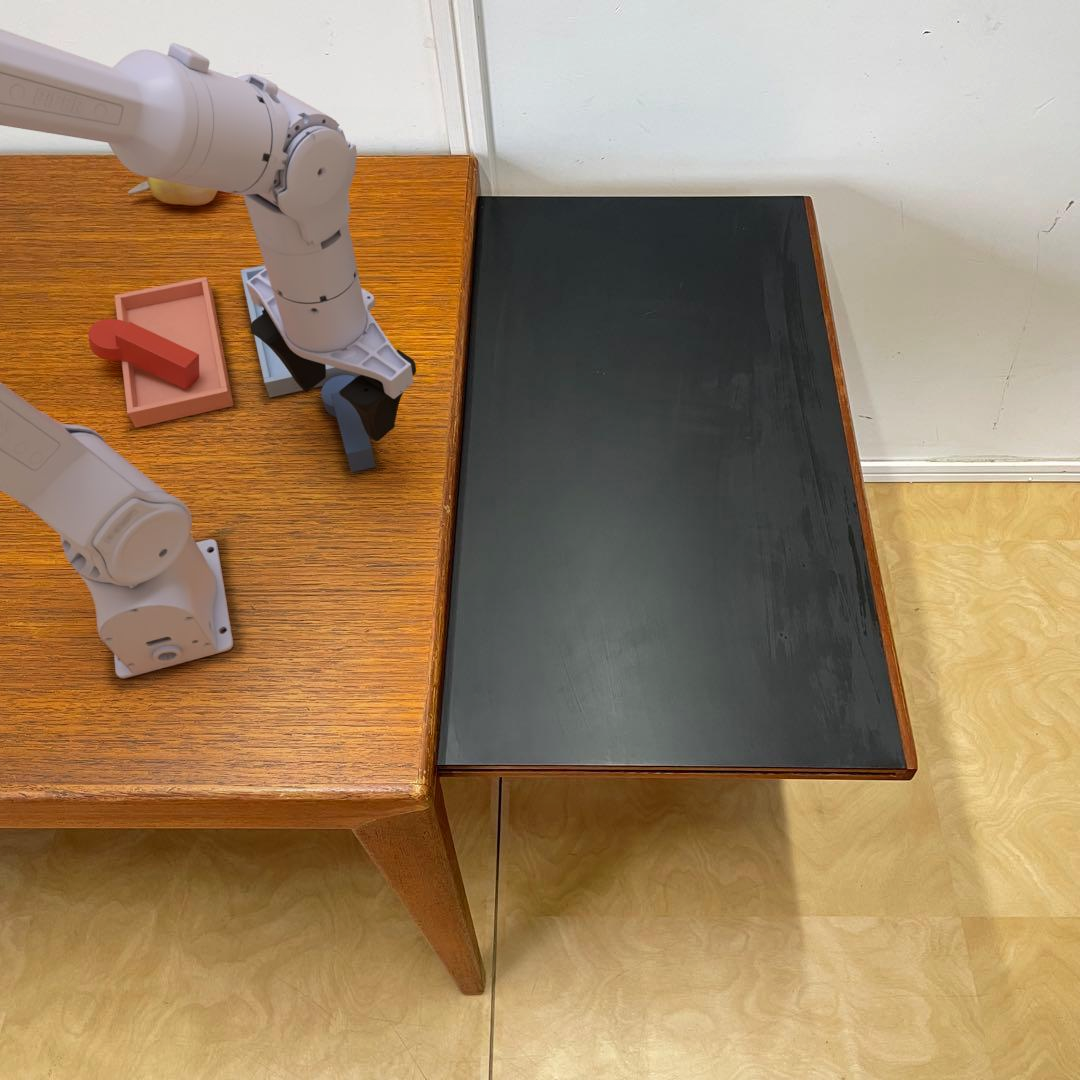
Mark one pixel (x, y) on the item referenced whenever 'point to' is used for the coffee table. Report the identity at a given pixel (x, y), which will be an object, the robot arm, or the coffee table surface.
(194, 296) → the rose tray
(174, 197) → the fruit
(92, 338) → the red spoon
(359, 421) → the blue spoon
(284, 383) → the blue tray
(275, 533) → the coffee table surface
